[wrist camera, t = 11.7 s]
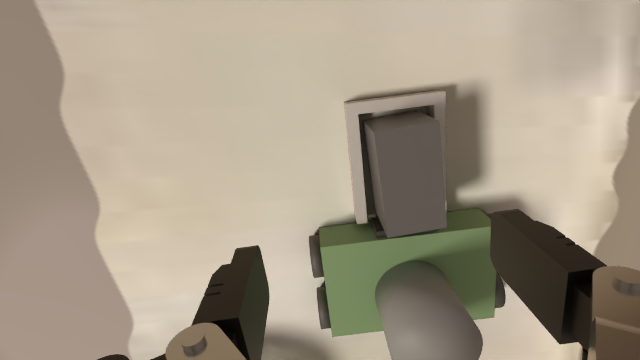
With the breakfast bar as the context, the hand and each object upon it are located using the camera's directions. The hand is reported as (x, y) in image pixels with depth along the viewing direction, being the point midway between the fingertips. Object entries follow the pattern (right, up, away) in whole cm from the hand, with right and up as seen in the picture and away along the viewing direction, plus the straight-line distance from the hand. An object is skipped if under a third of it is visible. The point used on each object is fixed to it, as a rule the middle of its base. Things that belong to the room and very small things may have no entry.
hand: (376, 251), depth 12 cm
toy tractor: (+6, -1, +23) cm, 24 cm away
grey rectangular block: (+5, +4, +22) cm, 23 cm away
